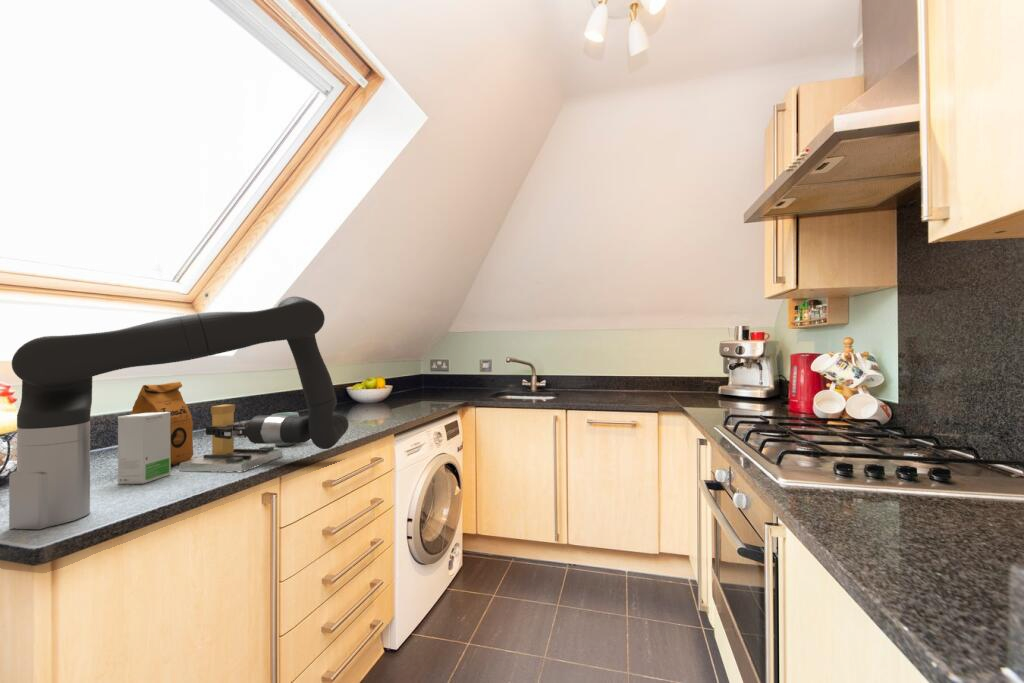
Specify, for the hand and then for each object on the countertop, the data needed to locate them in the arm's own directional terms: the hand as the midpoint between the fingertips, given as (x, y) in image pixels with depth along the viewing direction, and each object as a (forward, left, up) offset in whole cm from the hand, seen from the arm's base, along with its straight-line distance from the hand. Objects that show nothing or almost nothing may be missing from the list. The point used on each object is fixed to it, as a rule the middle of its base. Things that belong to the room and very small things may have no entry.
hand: (213, 428), depth 119 cm
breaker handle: (0, -3, -7) cm, 7 cm away
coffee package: (-4, +11, -9) cm, 15 cm away
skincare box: (-16, +4, -9) cm, 19 cm away
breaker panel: (-1, -7, -9) cm, 11 cm away
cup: (+21, -7, -9) cm, 24 cm away
